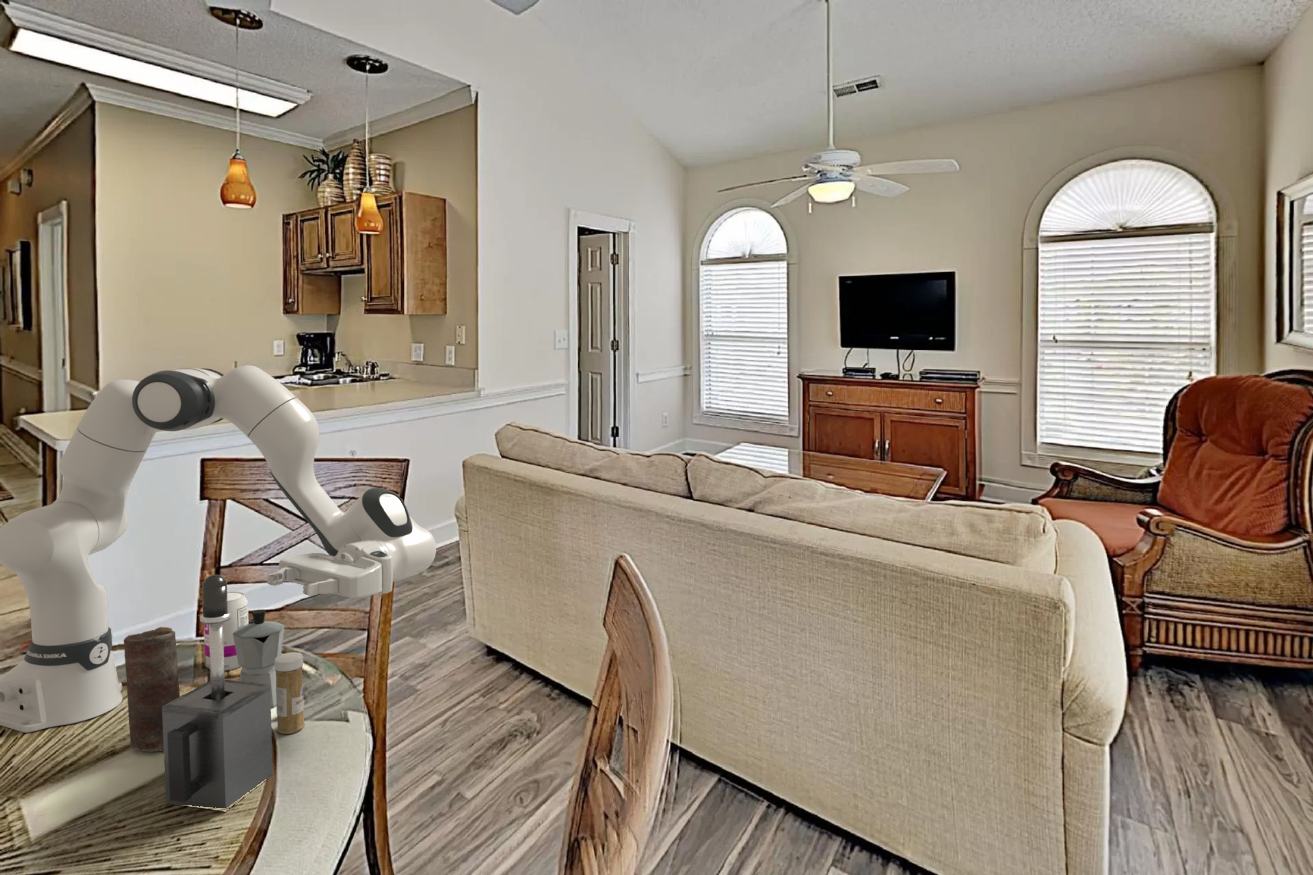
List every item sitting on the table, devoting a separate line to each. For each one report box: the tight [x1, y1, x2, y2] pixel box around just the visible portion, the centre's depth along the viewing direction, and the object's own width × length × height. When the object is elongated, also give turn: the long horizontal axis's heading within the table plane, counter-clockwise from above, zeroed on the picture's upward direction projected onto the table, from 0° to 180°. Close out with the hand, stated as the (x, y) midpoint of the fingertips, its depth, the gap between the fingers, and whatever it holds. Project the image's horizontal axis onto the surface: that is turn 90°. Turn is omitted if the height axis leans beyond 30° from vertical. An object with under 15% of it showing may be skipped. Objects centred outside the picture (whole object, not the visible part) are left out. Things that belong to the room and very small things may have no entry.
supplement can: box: [203, 591, 249, 672], centre depth 159 cm, size 8×8×15 cm
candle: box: [123, 626, 181, 753], centre depth 125 cm, size 8×7×20 cm
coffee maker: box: [233, 609, 286, 709], centre depth 143 cm, size 15×9×18 cm, turn 34°
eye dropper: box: [199, 574, 231, 701], centre depth 112 cm, size 8×8×22 cm
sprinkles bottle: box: [275, 651, 306, 735], centre depth 132 cm, size 5×5×13 cm
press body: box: [162, 679, 274, 808], centre depth 111 cm, size 10×13×15 cm
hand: (287, 585), depth 121 cm, fingers open, 8 cm apart
